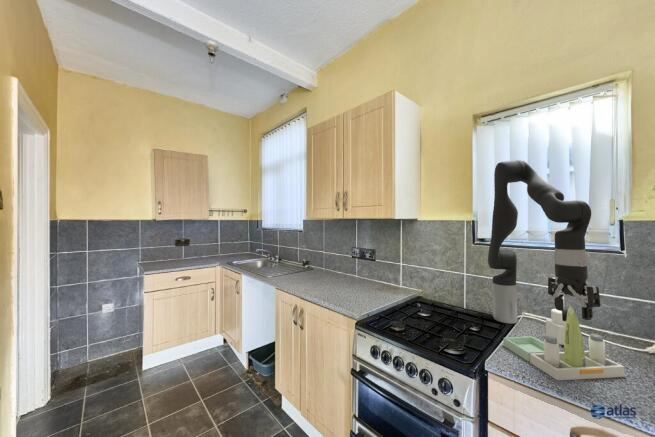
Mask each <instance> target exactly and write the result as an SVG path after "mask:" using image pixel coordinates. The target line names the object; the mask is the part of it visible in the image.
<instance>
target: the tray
mask: <svg viewBox="0 0 655 437" xmlns="http://www.w3.org/2000/svg"><path fill="white" fill-rule="evenodd" d="M503 346H504V347H505V348H506V349H508V350H510V351H511V352H513V353H515V354H516V355H518V356H520V357H521V358H522V359H524V360H525V361H527V362H528V363H529V362H530V354H532V353H544V341H542V340H540V339H538V338H536V337H534V336H512V337H511V336H510V337H508V336H507V337H503ZM559 352H561V350H559Z"/></svg>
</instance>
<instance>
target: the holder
mask: <svg viewBox="0 0 655 437" xmlns="http://www.w3.org/2000/svg"><path fill="white" fill-rule="evenodd" d="M584 353H585V363H586V367H577V368H574V367H572V366H570V365H568V364H566V363H565V362H564V351H560V352H559V357H560V368H558V369H557V368H556V367H554V366H552V365H551V364H549V363H547V362H546V361H545V360H544V353H532V354H530V364H531V365H533V366H535V367H536V368H538V369H539V370H541V371H542V372H544V373H546V374H547V375H548V376H550V377H551V378H553V379H554V380H556V381H567V380H568V381H570V380H572V381H574V380H589V379H590V380H591V379H607V378H608V379H609V378H611V379H612V378H625V377H626V370H625V366H624V365H622V364H620V363H617V362H616V361H613V360H611V359H609V358H607V357H606V366H604V365H602V364H600V363H598V362H596V361H594V360H592V359H590V358H589V350H584Z"/></svg>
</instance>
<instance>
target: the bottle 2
mask: <svg viewBox="0 0 655 437" xmlns="http://www.w3.org/2000/svg"><path fill="white" fill-rule="evenodd" d="M588 351H589V358H590V359H592V360H594V361H596V362H598V363H600V364H602V365H604V366H606V358H607V357H606V341H605V340H604V337H603V336H602V335H599V334H596V333H590V334H589V337H588Z"/></svg>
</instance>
